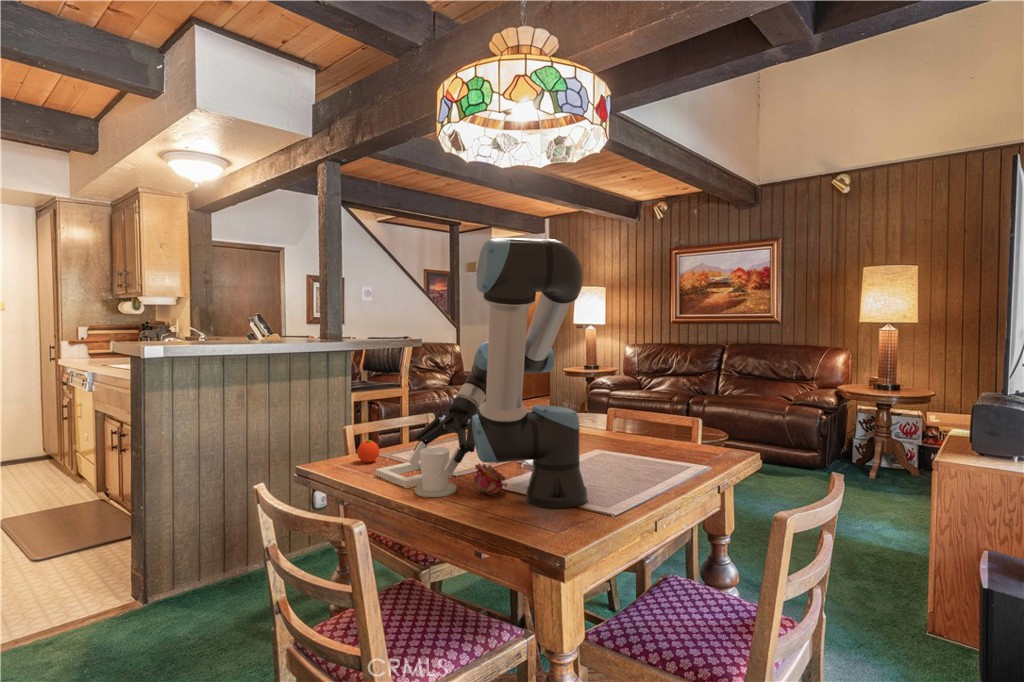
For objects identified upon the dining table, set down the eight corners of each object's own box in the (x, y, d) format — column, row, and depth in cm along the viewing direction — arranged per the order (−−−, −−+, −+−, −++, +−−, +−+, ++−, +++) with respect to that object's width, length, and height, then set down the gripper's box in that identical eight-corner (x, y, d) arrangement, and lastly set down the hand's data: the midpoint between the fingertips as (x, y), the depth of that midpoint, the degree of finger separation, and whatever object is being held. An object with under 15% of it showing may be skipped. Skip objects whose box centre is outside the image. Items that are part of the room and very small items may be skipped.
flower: (475, 496, 136) (493, 468, 137) (458, 480, 144) (475, 454, 145) (500, 510, 142) (517, 483, 143) (482, 494, 149) (499, 468, 150)
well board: (451, 477, 159) (451, 470, 159) (406, 488, 149) (406, 481, 149) (419, 466, 172) (419, 460, 172) (375, 476, 162) (375, 469, 162)
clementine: (362, 458, 182) (361, 437, 182) (383, 458, 182) (382, 437, 182) (354, 465, 174) (353, 442, 174) (376, 465, 174) (375, 442, 174)
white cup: (453, 483, 150) (452, 447, 150) (446, 492, 142) (446, 454, 142) (425, 483, 151) (424, 446, 150) (417, 492, 143) (416, 454, 143)
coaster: (464, 491, 146) (464, 488, 146) (429, 500, 139) (429, 497, 139) (441, 482, 154) (441, 479, 154) (406, 491, 147) (406, 488, 147)
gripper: (507, 415, 150) (471, 483, 139) (442, 408, 166) (405, 468, 154) (494, 398, 146) (456, 467, 135) (429, 392, 161) (390, 453, 150)
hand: (429, 468), depth 144 cm, fingers open, 13 cm apart
